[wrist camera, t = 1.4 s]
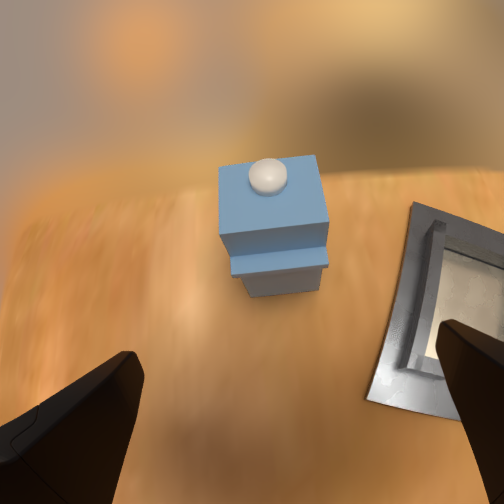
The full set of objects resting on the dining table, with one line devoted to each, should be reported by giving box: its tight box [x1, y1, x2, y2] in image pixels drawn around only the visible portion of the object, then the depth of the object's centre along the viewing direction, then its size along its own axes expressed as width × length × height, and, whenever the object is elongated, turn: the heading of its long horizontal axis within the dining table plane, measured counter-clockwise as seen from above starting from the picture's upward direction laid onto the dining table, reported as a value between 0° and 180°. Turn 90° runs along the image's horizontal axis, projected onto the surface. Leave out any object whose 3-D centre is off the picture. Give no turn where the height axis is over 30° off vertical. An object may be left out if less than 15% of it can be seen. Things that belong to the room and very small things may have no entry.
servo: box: [219, 155, 329, 297], centre depth 19 cm, size 6×5×11 cm
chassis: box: [365, 201, 504, 421], centre depth 19 cm, size 16×13×3 cm
